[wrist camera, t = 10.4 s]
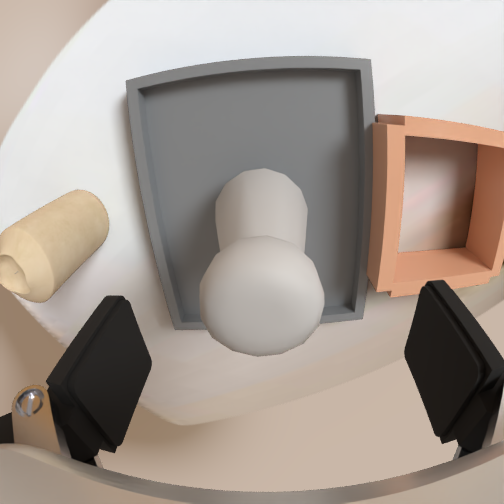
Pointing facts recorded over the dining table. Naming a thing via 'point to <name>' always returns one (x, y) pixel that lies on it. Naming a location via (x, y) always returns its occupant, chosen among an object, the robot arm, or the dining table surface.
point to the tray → (257, 164)
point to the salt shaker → (261, 268)
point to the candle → (51, 244)
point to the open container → (391, 201)
